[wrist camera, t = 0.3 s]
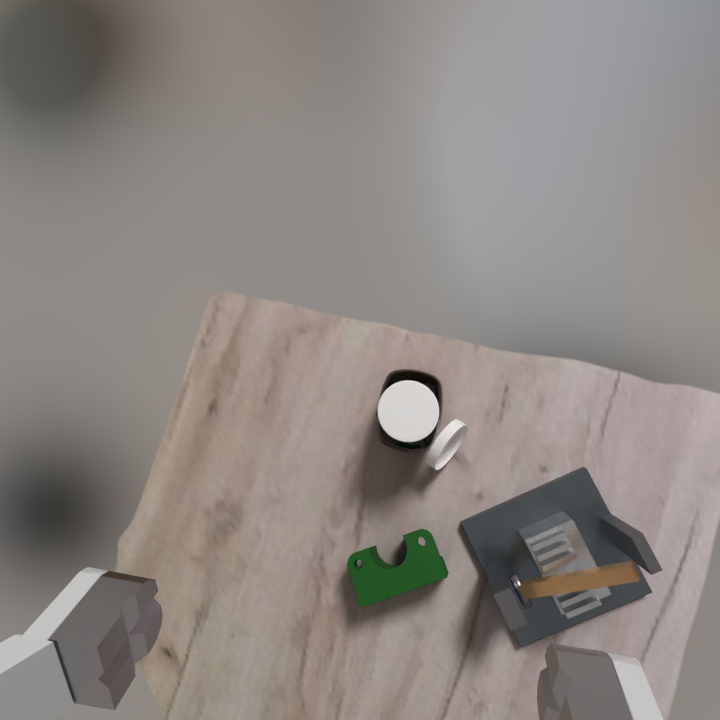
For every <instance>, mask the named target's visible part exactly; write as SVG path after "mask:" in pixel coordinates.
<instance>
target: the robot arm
mask: <svg viewBox="0 0 720 720" xmlns="http://www.w3.org/2000/svg"><path fill="white" fill-rule="evenodd" d="M157 592H158V588H157V585H156V581H155V579H149V578H144V577H139V576H134V575H128V574H123V573H118V572H113V571H107V570H102V569H96V568H90V567H87V568H86V569H84V570H82V571H80V572H79V573H78V574H77V575H76V576H75V577H74V579H73V580H72V581H71V582H70V583H69V584H68V585H67V586H66V587H65V589H64V590H63V591H62V592H61V593H60V594H59V595H58V596H57V597H56V598H55V600H54V601H53V602H52V603H51V604H50V605H49V606H48V607H47V609H46V610H45V611H44V612H43V613H42V614H41V615H40V616H39V618H38V619H37V620H36V621H35V622H34V623H33V624H32V625H31V627H29V629H28V630H27V631H26V632H25V633H24V634H23V635H17V634H16V635H14V636H12V637H10V638H8V639H7V640H5V641H3V642H1V643H0V720H58V719H60V718H61V717H62V716H63V715H65V714H66V713H67V712H68V711H69V710H71V709H72V708H73V707H74V706H75V705H74V703H76V704H82V705H88V706H94V707H100V708H106V709H112V710H115V709H116V707H117V706H118V704H119V702H120V700H121V699H122V697H123V696H124V694H125V692H126V691H127V689H128V687H129V686H130V684H131V682H132V681H133V679H134V677H135V663H136V662H138V661H139V660H141V659H142V658H144V657H145V656H146V655H148V654H149V652H150V650H151V649H152V647H153V645H154V644H155V642H156V640H157V637H158V634H159V631H160V628H161V625H162V609H161V605H160V604H159V603H158V602H157V601H156V600H155V599H154V596H155V595H156V593H157ZM545 659H546V664H547V668H545V669H543V670H542V671H540V676H539V680H538V689H537V703H538V713H539V719H540V720H664V719H663V717H662V714H661V712H660V709H659V707H658V705H657V702H656V700H655V697H654V695H653V693H652V690H651V688H650V685H649V683H648V680H647V678H646V676H645V673H644V671H643V668H642V666H641V664H640V663H639V661H638V660H637V659H636V658H634V657H631V656H624V655H617V654H611V653H605V652H603V651H597V650H590V649H583V648H577V647H570V646H563V645H556V644H550V645H549V646H548V647H547V650H546V654H545Z"/></svg>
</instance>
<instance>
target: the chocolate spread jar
mask: <svg viewBox="0 0 720 720" xmlns="http://www.w3.org/2000/svg"><path fill="white" fill-rule="evenodd" d="M376 416H377V433H378V437H379V440H380V441H381V442H382V443H383V444H384V445H386V446H388V447H390V448H392V449H395V450H399V451H404V452H424V451H427V450H428V449H430V448H431V449H430V451H429V453H428V455H427V459H426V462H427V464H428V465H429V466H431V467H432V468H433V469H435V470H439V469H441V468H442V467H443V466H444V465H445V464H446V463H447V462H448V461H449V460H450V459H451V458H452V456H453V455H454V454H455V452H456V451H457V449H458V448H459V446H460V445H461V443H462V441H463V439H464V437H465V435H466V432H467V425H465V424H464V423H462V422H461V421H459V420H458V419H456V420H453V421H452V422H450V423H449V424H448V425H447V426H446V427H445V428H444V429H443V431H442V432H441V433H440V434H439V436H438V437H437V439H436V436H437V433H438V429H439V425H440V421H441V416H442V385H441V382H440V380H439V379H438V378H437V377H436V376H435V375H433V374H430V373H428V372H424V371H421V370H415V369H398V370H394V371H392V372H391V373H389V375H388V376H387V378H386V379H385V382H384V384H383V387H382V390H381V393H380V397H379V401H378V407H377V413H376ZM435 439H436V440H435ZM434 441H435V442H434Z"/></svg>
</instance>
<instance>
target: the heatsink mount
mask: <svg viewBox="0 0 720 720" xmlns="http://www.w3.org/2000/svg"><path fill="white" fill-rule="evenodd" d="M461 524H462V526H463V528H464V530H465V532H466V534H467V536H468V538H469V540H470V542H471V544H472V546H473V549H474V551H475V553H476V555H477V557H478V559H479V561H480V563H481V565H482V567H483V569H484V571H485V573H486V576H487V579H488V582H489V584H490V587H491V590H492V593H493V596H494V598H495V600H496V602H497V604H498V606H499V608H500V610H501V612H502V614H503V616H504V619H505V621H506V623H507V625H508V627H509V629H510V631H511V630H513V631H514V633H515V636H516V638H517V640H518V642H519V644H520V646H524V645H526V644H529V643H531V642H533V641H536V640H538V639H541V638H543V637H546V636H548V635H550V634H553V633H555V632H558V631H560V630H562V629H565V628H567V627H570V626H572V625H575V624H577V623H579V622H582V621H584V620H587V619H589V618H591V617H594V616H596V615H599V614H601V613H604V612H606V611H608V610H611V609H613V608H616V607H618V606H620V605H623V604H625V603H628V602H630V601H633V600H635V599H637V598H640V597H642V596H645V595H647V594H650V593H652V591H651V589H650V587H649V585H648V583H647V581H646V579H645V578H644V576H643V574H642V572H641V570H640V568H639V566H641V567H642V568H643V569H645V570H646V571H647V572H649V573H650V574H651V575H652V574H654V573H657V572H659V571H662V568H661V566H660V565H659V563H658V561H657V559H656V557H655V555H654V553H653V552H652V550H651V548H650V546H649V544H648V542H647V541H646V539H645V537H644V535H643V533H641V532H640V531H638V530H636V529H635V528H633V527H631V526H630V525H628V524H627V523H625V522H623V521H622V520H620V519H618V518H617V517H615V516H613V515H612V514H610V512H609V510H608V508H607V506H606V504H605V502H604V501H603V499H602V497H601V495H600V493H599V491H598V489H597V487H596V486H595V484H594V482H593V480H592V478H591V476H590V474H589V472H588V471H587V469H586V468H584V467H582V468H580V469H577V470H575V471H573V472H571V473H568V474H566V475H564V476H562V477H559V478H557V479H555V480H553V481H550V482H548V483H546V484H544V485H541V486H539V487H537V488H535V489H532V490H530V491H528V492H526V493H524V494H521V495H519V496H517V497H515V498H512V499H510V500H508V501H506V502H503V503H501V504H499V505H497V506H494V507H492V508H490V509H488V510H485V511H483V512H481V513H479V514H476V515H474V516H472V517H470V518H467V519H465V520H463V521H461ZM628 561H632V563H633V565H634V567H635V568H636V570H637V572H638V574H639V576H640V577H639V581H638V582H632V583H626V584H619V585H613V586H607V587H600V588H594V589H588V590H582V591H575V592H569V593H563V594H556V595H550V596H544V597H537V598H531V601H532V603H533V606H532V607H531V608H529V609H524V608H523V606H522V604H521V602H520V600H519V598H518V596H517V594H516V592H515V590H514V588H513V586H512V584H511V582H510V580H509V578H508V577H509V575H511V574H512V573H518V574H519V576H520V578H521V580H522V581H524V580H530V579H535V578H541V577H546V576H551V575H557V574H562V573H568V572H573V571H579V570H584V569H590V568H595V567H601V566H606V565H611V564H617V563H622V562H628ZM638 565H639V566H638Z"/></svg>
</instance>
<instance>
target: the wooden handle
mask: <svg viewBox="0 0 720 720" xmlns="http://www.w3.org/2000/svg"><path fill="white" fill-rule="evenodd" d="M639 577H640V576H639V574H638V572H637V570H636V568H635V567H634V565H633V563H632V561H628V562H622V563H617V564H611V565H606V566H601V567H595V568H590V569H584V570H579V571H573V572H568V573H562V574H557V575H551V576H546V577H541V578H535V579H530V580H524V581H522V580H521V578H520V576H519V574H518V573H512V574H511V575H509V577H508V578H509V580H510V582H511V584H512V586H513V588H514V590H515V592H516V594H517V596H518V598H519V600H520V602H521V604H522V606H523V608H524V609H529V608H531V607H532V606H533V603H532V601H531V598H537V597H544V596H550V595H556V594H563V593H569V592H575V591H582V590H588V589H594V588H600V587H607V586H613V585H619V584H626V583H632V582H638V581H639Z"/></svg>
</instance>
